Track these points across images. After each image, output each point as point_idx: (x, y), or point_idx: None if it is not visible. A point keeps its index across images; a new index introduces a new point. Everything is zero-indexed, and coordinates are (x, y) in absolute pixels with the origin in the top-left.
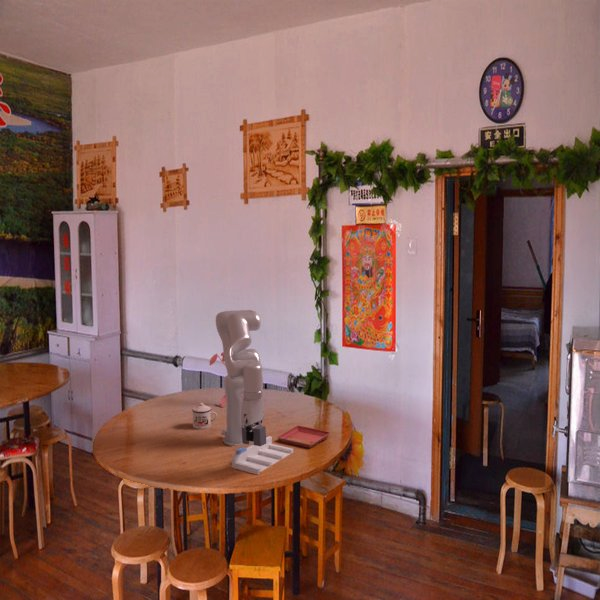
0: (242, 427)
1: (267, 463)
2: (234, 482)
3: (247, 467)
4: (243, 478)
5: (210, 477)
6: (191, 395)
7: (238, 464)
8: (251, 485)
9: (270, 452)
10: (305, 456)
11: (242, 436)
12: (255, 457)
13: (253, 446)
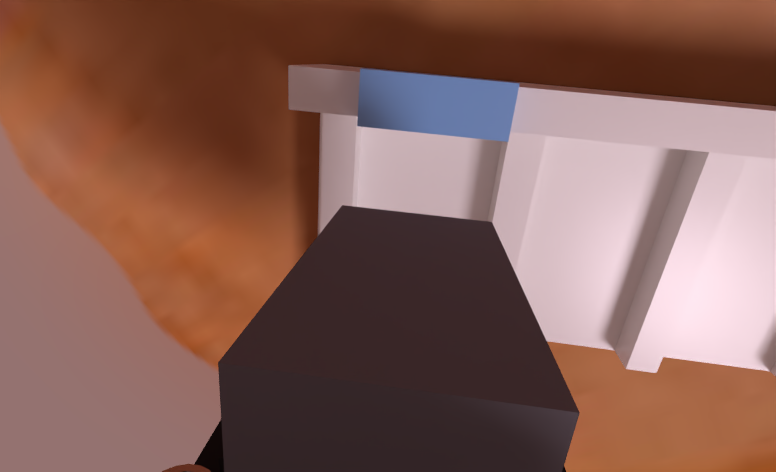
0: (235, 377)
1: None
2: (139, 226)
3: (322, 228)
4: (220, 248)
5: (78, 10)
6: None
7: (323, 137)
8: (175, 333)
9: (687, 266)
10: (739, 450)
11: (312, 251)
12: (523, 200)
13: (656, 145)
